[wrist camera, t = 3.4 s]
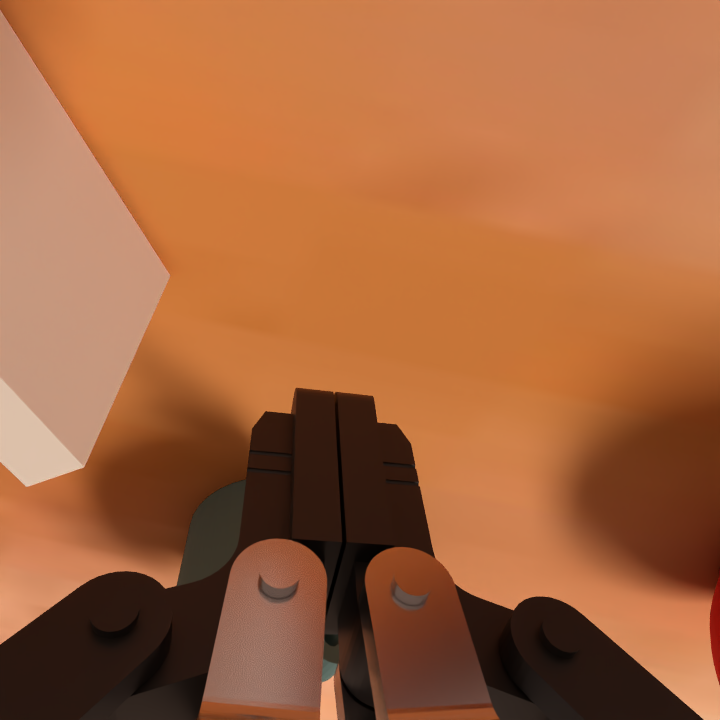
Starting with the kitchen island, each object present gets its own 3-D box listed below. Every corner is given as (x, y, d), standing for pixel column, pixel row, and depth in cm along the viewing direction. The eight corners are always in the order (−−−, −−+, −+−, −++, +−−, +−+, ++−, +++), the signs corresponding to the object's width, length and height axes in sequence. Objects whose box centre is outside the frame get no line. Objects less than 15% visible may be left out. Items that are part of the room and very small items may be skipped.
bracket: (219, 600, 32) (192, 795, 25) (161, 483, 27) (104, 688, 19) (384, 575, 32) (406, 765, 24) (358, 452, 26) (376, 649, 19)
